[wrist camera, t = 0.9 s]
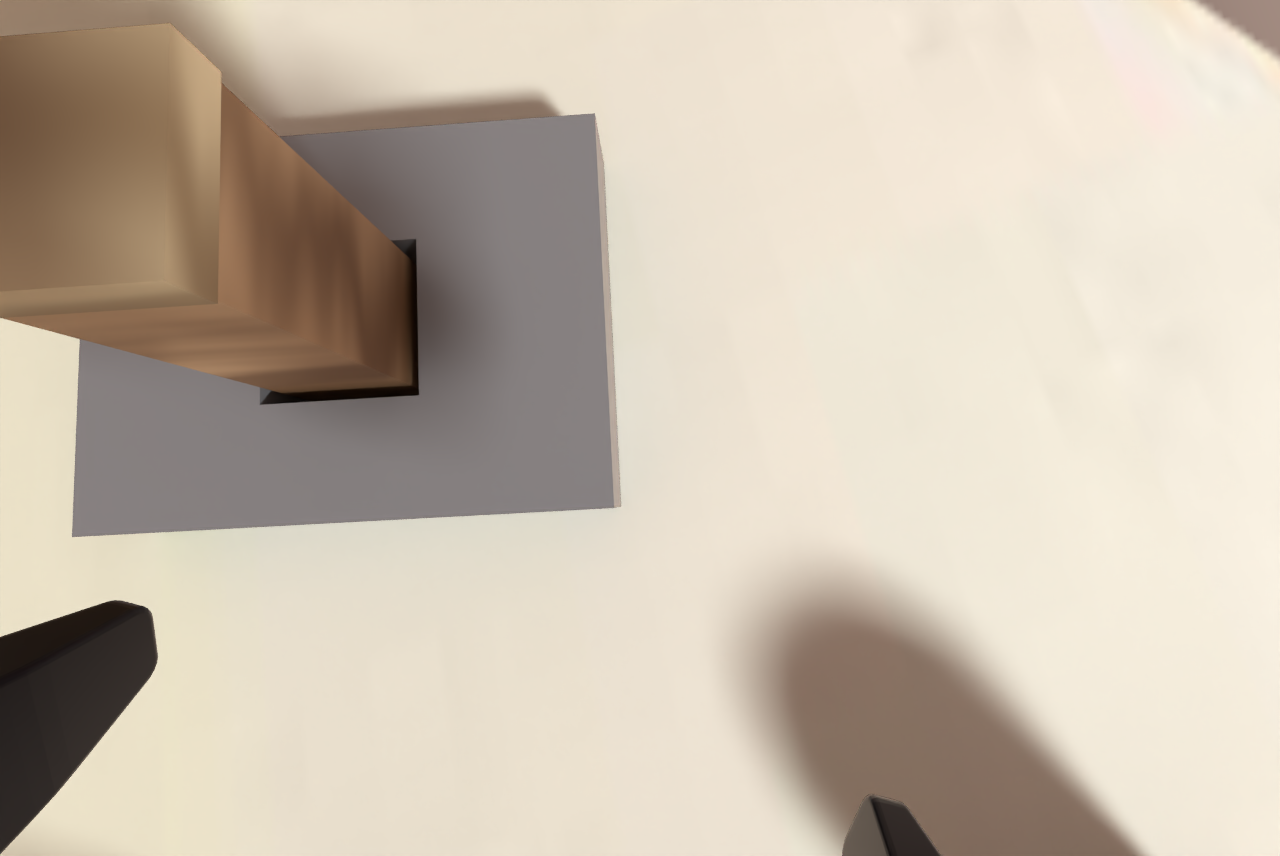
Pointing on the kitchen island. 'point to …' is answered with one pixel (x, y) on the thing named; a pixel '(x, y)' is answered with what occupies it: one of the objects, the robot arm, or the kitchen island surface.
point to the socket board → (447, 359)
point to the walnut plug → (187, 224)
